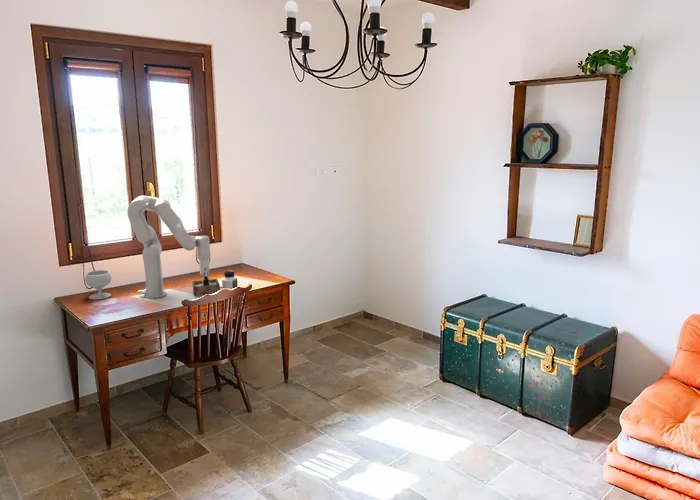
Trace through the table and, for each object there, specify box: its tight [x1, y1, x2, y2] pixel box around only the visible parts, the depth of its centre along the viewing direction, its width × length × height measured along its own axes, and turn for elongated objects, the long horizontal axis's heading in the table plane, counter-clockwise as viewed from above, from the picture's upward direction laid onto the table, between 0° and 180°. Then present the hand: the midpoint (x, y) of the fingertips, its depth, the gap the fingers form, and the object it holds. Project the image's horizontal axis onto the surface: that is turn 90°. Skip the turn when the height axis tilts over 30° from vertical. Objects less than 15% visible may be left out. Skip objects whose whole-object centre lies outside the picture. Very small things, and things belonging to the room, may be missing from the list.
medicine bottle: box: [221, 270, 239, 289], centre depth 316 cm, size 7×7×12 cm
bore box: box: [192, 278, 221, 297], centre depth 311 cm, size 15×14×6 cm
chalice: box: [84, 270, 112, 300], centre depth 301 cm, size 14×14×15 cm
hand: (205, 284), depth 311 cm, fingers open, 4 cm apart
